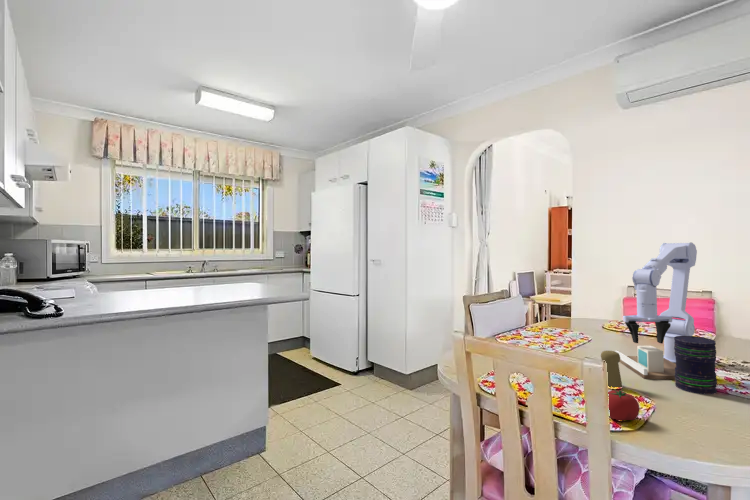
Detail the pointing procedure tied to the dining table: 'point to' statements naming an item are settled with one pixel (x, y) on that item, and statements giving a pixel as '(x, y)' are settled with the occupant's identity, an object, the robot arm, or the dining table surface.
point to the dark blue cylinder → (695, 364)
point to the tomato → (622, 406)
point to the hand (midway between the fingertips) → (647, 342)
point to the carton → (650, 358)
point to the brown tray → (642, 371)
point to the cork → (612, 368)
